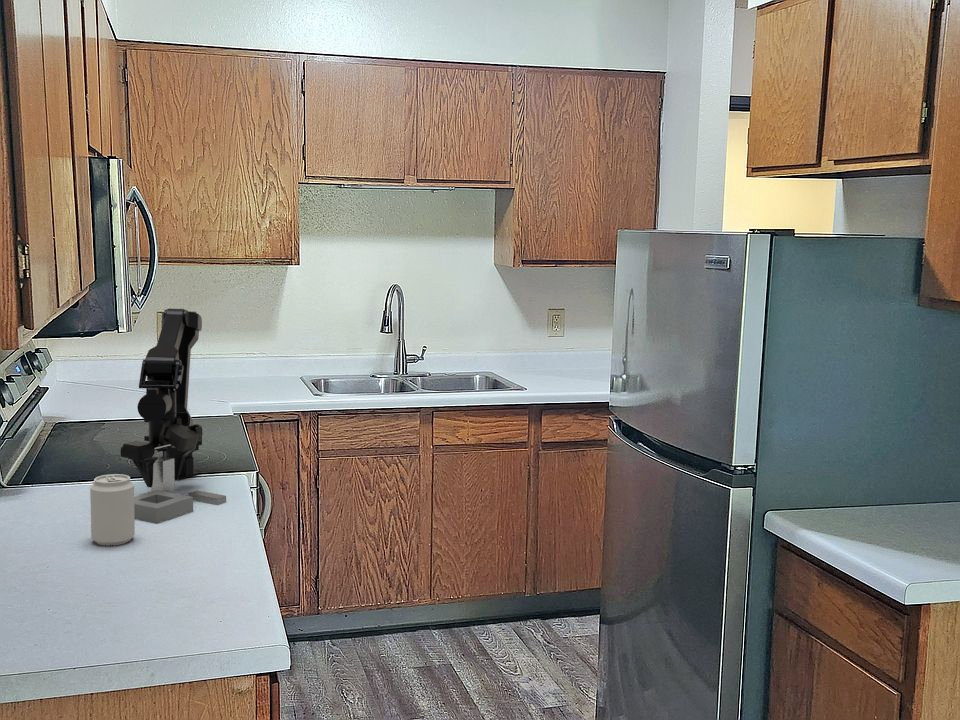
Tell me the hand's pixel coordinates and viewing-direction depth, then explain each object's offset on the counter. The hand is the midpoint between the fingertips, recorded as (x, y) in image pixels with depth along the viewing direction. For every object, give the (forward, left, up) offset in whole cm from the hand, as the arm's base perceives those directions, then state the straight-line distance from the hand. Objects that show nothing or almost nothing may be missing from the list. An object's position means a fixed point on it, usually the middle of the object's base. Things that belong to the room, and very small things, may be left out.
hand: (162, 483), depth 209 cm
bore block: (+9, -11, -2) cm, 14 cm away
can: (+15, -28, -3) cm, 32 cm away
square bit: (0, 0, -3) cm, 3 cm away
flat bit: (+11, +1, -3) cm, 12 cm away
